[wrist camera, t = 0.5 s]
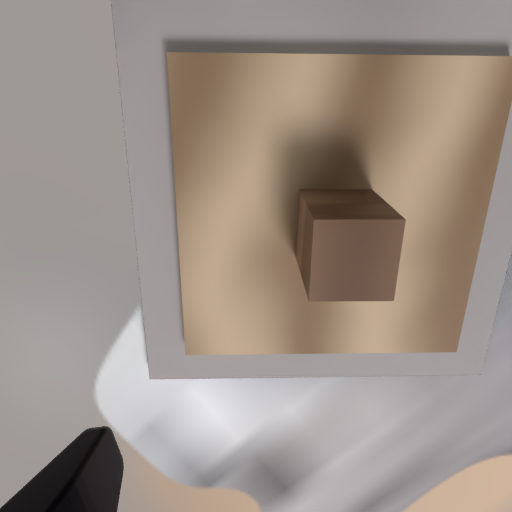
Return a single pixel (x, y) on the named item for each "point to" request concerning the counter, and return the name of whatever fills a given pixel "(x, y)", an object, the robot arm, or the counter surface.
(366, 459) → the counter surface
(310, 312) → the lid
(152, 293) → the mat
